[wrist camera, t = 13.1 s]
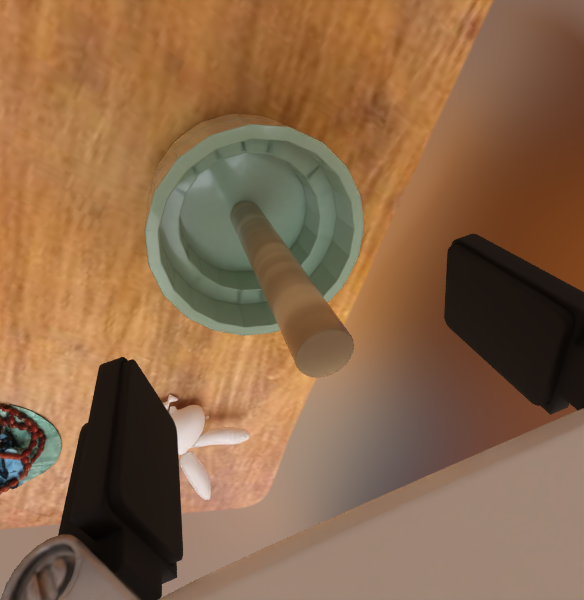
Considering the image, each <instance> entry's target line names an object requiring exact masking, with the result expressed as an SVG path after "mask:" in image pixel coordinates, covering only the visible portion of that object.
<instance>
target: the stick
mask: <svg viewBox="0 0 584 600" xmlns="http://www.w3.org/2000/svg"><path fill="white" fill-rule="evenodd" d="M230 219H231V223H232V225H233V227H234V229H235V231H236V234H237V236H238V238H239V240H240V242H241V245H242V247H243V249H244V251H245V253H246V256H247V258H248V260H249V262H250V264H251V267H252V269H253V271H254V273H255V275H256V278H257V280H258V282H259V284H260V286H261V289H262V291H263V293H264V295H265V297H266V300H267V302H268V304H269V306H270V308H271V311H272V313H273V315H274V317H275V319H276V322H277V324H278V326H279V328H280V330H281V333H282V335H283V337H284V339H285V341H286V344H287V346H288V348H289V350H290V352H291V355H292V357H293V359H294V361H295V363H296V366H297V368H298V369H299V370H300V371H301V372H302V373H303V374H305V375H307V376H310V377H325V376H328V375H331V374H333V373H335V372H337V371H339V370H340V369H341V368H343V367H344V366H345V365H346V364H347V362H348V361H349V360H350V358H351V356H352V353H353V349H354V344H353V339H352V337H351V335H350V334H349V332H348V331H347V329H346V328H345V327H344V325H343V324H342V322H341V321H340V320H339V318H338V317H337V315H336V314H335V313H334V311H333V310H332V308H331V307H330V306H329V304H328V303H327V301H326V300H325V299H324V297H323V296H322V294H321V293H320V292H319V290H318V289H317V287H316V286H315V285H314V283H313V282H312V280H311V279H310V278H309V276H308V275H307V273H306V272H305V271H304V269H303V268H302V266H301V265H300V264H299V262H298V261H297V259H296V258H295V257H294V255H293V254H292V252H291V251H290V250H289V248H288V247H287V245H286V244H285V243H284V241H283V240H282V238H281V237H280V236H279V234H278V233H277V231H276V230H275V229H274V227H273V226H272V224H271V223H270V222H269V220H268V219H267V217H266V216H265V215H264V213H263V212H262V210H261V209H260V208H259V206H258V205H257V204H256V203H254V202H252V201H241V202H239V203H237V204H236V205H235V206H234V207H233V208H232V210H231V214H230Z"/></svg>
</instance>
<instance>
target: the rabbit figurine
mask: <svg viewBox="0 0 584 600" xmlns="http://www.w3.org/2000/svg"><path fill="white" fill-rule="evenodd" d="M174 401H178V399H177V398H176V397H174V396H172V395H170V394H169V397H168V401H167V402H163V404H164V406H165V408H166V409H167V410H168V408H169V404H170V402H174ZM169 414H170V415H171V417H172V418H173V420H174V422H175V425H176V429H177V439H178V454H180V455H182V457H181V460H180V465H181V468H182V470H183V472H184V474H185V475H186V477H187V478H188V480H189V482H190V483H191V484H192V486H193V488H194V489H195V490H196V492H197V493H198V494H199V495H200V496H201V497H202V498H203V499H205V500H208V499H210V496H211V484H210V478H209V475H208V473H207V471H206V469H205V467H204V466H203V464H202V463H201V462H200V461H199V459H198V458H197V457H196V456H195V455H194V454H193V453H192V452H188V453H186V452H187V449H190V448H191V447H192V446H193V448H195V447H201V446H207V445H215V444H239V443H242V442H244V441H246V440H248V439H249V437H250V434H249V432H248V431H246V430H244V429H240V428H235V427H222V428H216V429H212V430H209V431H206V432H205V433H204V434H202V435H201V433H202V431H203V428H204V425H205V421H206V420H207V419H209V415H207V416H206V417H205V415H204V412H203V409H202V408H201V407H200V406H198V405H189V406H187V407H184V408H182V409H180V410H177V409H176V407H175V406H172V407H170V410H169Z"/></svg>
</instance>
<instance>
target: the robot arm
mask: <svg viewBox="0 0 584 600" xmlns="http://www.w3.org/2000/svg"><path fill="white" fill-rule="evenodd" d="M444 318H445V321H446V324H447V325H448V327H449V328H450V329H452V331H454V332H455V333H456V334H457V335H458V336H459V337H460V338H461V339H463V341H465V342H466V343H467V344H468V345H469V346H470V347H471V348H472V349H473V350H474V351H476V352H477V353H478V354H479V355H480V356H481V357H482V358H483V359H484V360H485V361H487V362H488V363H489V364H490V365H491V366H492V367H493V368H494V369H495V370H496V371H497V372H498V373H500V374H501V375H502V376H503V377H504V378H505V379H506V380H507V381H508V382H509V383H511V384H512V385H513V386H514V387H515V388H516V389H517V390H518V391H519V392H520V393H521V394H523V395H524V396H525V397H526V398H527V399H528V400H529V401H530V402H532V403H533V404H535V405H538V406H541V407H543V408H544V409H545V410H546V411H547V412H548V413H549V414H553V413H556V412H558V411H560V410H562V409H565V408H567V407H568V406H569V403H570V404H571V405H572V406H573V407H575V408H576V409H577V411H576V412H573V413H571V414H569V415H566V416H564V417H562V418H559V419H557V420H555V421H552V422H550V423H548V424H546V425H543V426H541V427H539V428H536V429H534V430H532V431H529V432H527V433H525V434H522V435H520V436H518V437H515V438H513V439H511V440H509V441H506V442H504V443H502V444H499V445H497V446H495V447H492V448H490V449H488V450H485V451H483V452H481V453H479V454H476V455H474V456H472V457H470V458H467V459H465V460H463V461H461V462H458V463H456V464H454V465H451V466H449V467H447V468H444V469H442V470H440V471H437V472H435V473H433V474H431V475H428V476H426V477H424V478H421V479H420V480H417V481H415V482H412V483H410V484H408V485H406V486H403V487H401V488H399V489H397V490H394V491H392V492H390V493H387V494H385V495H383V496H381V497H378V498H376V499H374V500H371V501H369V502H367V503H365V504H362V505H360V506H358V507H356V508H353V509H351V510H349V511H347V512H344V513H342V514H340V515H338V516H335V517H333V518H331V519H329V520H326V521H324V522H322V523H320V524H317V525H315V526H313V527H311V528H309V529H306V530H304V531H302V532H299V533H297V534H295V535H293V536H291V537H288V538H286V539H284V540H281V541H279V542H277V543H275V544H273V545H270V546H268V547H266V548H264V549H261V550H259V551H257V552H255V553H253V554H251V555H249V556H246V557H244V558H242V559H240V560H238V561H236V562H233V563H231V564H229V565H227V566H225V567H223V568H221V569H218V570H216V571H214V572H212V573H210V574H208V575H206V576H203V577H201V578H199V579H197V580H195V581H193V582H191V583H189V584H187V585H185V586H184V587H181V588H180V589H178V590H176V591H174V592H172V593H170V594H168V595H167V596H164V597H162V598H161V596H162V584H163V583H166V582H168V581H170V580H172V579H175V578H177V565H176V562H177V561H180V560H181V559H182V556H183V541H182V520H181V500H180V480H179V459H178V439H177V429H176V425H175V422H174V420H173V418H172V417H171V415H170V414H169V412H168V411H167V409H166V408H165V406H164V404H163V403H162V401H161V400H160V398H159V397H158V395H157V394H156V392H155V391H154V389H153V387H152V386H151V384H150V383H149V381H148V380H147V378H146V377H145V375H144V374H143V372H142V371H141V369H140V367H139V366H138V364H137V363H136V362H135V360H133V359H132V360H129V361H128V360H127V359H126V358H124V357H121V358H118V359H115V360H112V361H110V362H107V363H104V364H101V365H100V367H99V371H98V376H97V381H96V386H95V391H94V396H93V401H92V406H91V411H90V416H89V421H88V423H86V424H85V425H84V426H83V427H82V429H81V432H80V435H79V440H78V445H77V450H76V454H75V459H74V464H73V468H72V473H71V478H70V482H69V487H68V492H67V496H66V501H65V506H64V511H63V515H62V520H61V525H60V529H59V534H58V536H56V537H53V538H50V539H48V540H46V541H45V542H43V543H41V544H40V545H38V546H37V547H36V548H35V549H34V550H32V551H31V552H30V553H29V554H28V555H27V556H26V557H25V558H24V559H23V560H22V561H21V563H20V564H19V565H18V566H17V568H16V569H15V570H14V572H13V573H12V575H11V577H10V579H9V581H8V582H7V584H6V586H5V589H4V592H3V594H2V597H1V600H584V292H582V291H580V290H578V289H577V288H575V287H573V286H571V285H569V284H567V283H566V282H564V281H562V280H560V279H558V278H556V277H555V276H553V275H551V274H549V273H547V272H545V271H543V270H541V269H539V268H538V267H536V266H534V265H532V264H531V263H529V262H527V261H525V260H523V259H521V258H519V257H517V256H516V255H514V254H512V253H510V252H508V251H506V250H504V249H503V248H501V247H499V246H497V245H495V244H494V243H492V242H489V241H488V240H486V239H484V238H482V237H480V236H478V235H477V234H470V235H468V236H465V237H461V238H459V239H456V240H454V241H453V243H452V245H451V247H449V249H448V254H447V274H446V293H445V313H444Z"/></svg>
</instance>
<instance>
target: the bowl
mask: <svg viewBox="0 0 584 600" xmlns="http://www.w3.org/2000/svg"><path fill="white" fill-rule="evenodd" d="M241 201H252V202H254V203H256V204H257V205H258V206H259V208H260V209H261V210H262V212H263V213H264V215H265V216H266V217H267V219H268V220H269V222H270V223H271V224H272V226H273V227H274V229H275V230H276V231H277V233H278V234H279V236H280V237H281V238H282V240H283V241H284V243H285V244H286V245H287V247H288V248H289V250H290V251H291V252H292V254H293V255H294V257H295V258H296V259H297V261H298V262H299V264H300V265H301V266H302V268H303V269H304V271H305V272H306V273H307V275H308V276H309V278H310V279H311V280H312V282H313V283H314V285H315V286H316V287H317V289H318V290H319V292H320V293H321V294H322V296H323V297H324V299H325V300H326V301H327V303H328V302H329V301H330V300H331V299H332V298H333V297H334V296H335V294H336V293H337V292H338V291H339V290H340V289H341V288H342V287H343V286H344V284H345V283H346V281H347V279H348V277H349V275H350V273H351V271H352V269H353V267H354V265H355V263H356V261H357V259H358V257H359V252H360V247H361V242H362V237H363V232H364V222H363V212H362V203H361V197H360V194H359V191H358V189H357V187H356V185H355V183H354V181H353V178H352V176H351V174H350V172H349V170H348V168H347V167H346V165H345V164H344V163H343V162H342V161H341V160H340V159H339V158H338V157H337V156H336V155H335V154H334V153H333V152H332V151H331V150H330V149H329V148H328V147H327V146H326V145H325V144H324V143H322V142H321V141H319V140H317V139H315V138H313V137H310V136H308V135H306V134H304V133H302V132H300V131H298V130H295V129H293V128H291V127H289V126H286V125H284V124H282V123H279V122H277V121H275V120H272V119H270V118H267V117H264V116H258V115H246V114H228V115H224V116H221V117H217V118H214V119H210V120H206V121H203V122H201V123H199V124H197V125H196V126H195V127H193V128H192V129H190V130H189V131H188V132H186V133H185V134H184V135H182V136H181V137H179V138H178V139H177V140H175V142H173V144H172V145H171V147H170V148H169V149H168V151H167V152H166V154H165V155H164V157H163V158H162V160H161V161H160V163H159V164H158V166H157V168H156V169H155V174H154V178H153V182H152V186H151V190H150V194H149V198H148V206H147V214H146V223H145V239H146V248H147V257H148V264H149V267H150V269H151V271H152V273H153V275H154V277H155V279H156V281H157V283H158V285H159V287H160V289H161V291H162V293H163V295H164V296H165V297H166V298H167V299H168V300H169V301H170V302H171V303H172V304H173V305H174V306H175V307H176V308H177V309H178V310H179V311H181V312H182V313H183V314H184V315H185V316H186V317H187V318H189V319H191V320H193V321H195V322H197V323H199V324H201V325H203V326H205V327H207V328H209V329H211V330H215V331H220V332H226V333H231V334H237V335H244V336H245V335H255V334H266V333H272V332H276V331H279V330H280V328H279V326H278V324H277V322H276V319H275V317H274V315H273V313H272V311H271V308H270V306H269V304H268V302H267V300H266V297H265V295H264V293H263V291H262V289H261V286H260V284H259V282H258V280H257V278H256V275H255V273H254V271H253V269H252V267H251V264H250V262H249V260H248V258H247V256H246V253H245V251H244V249H243V247H242V245H241V242H240V240H239V238H238V236H237V234H236V231H235V229H234V227H233V225H232V223H231V219H230V214H231V210H232V208H233V207H234V206H235V205H236V204H237V203H239V202H241Z"/></svg>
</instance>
